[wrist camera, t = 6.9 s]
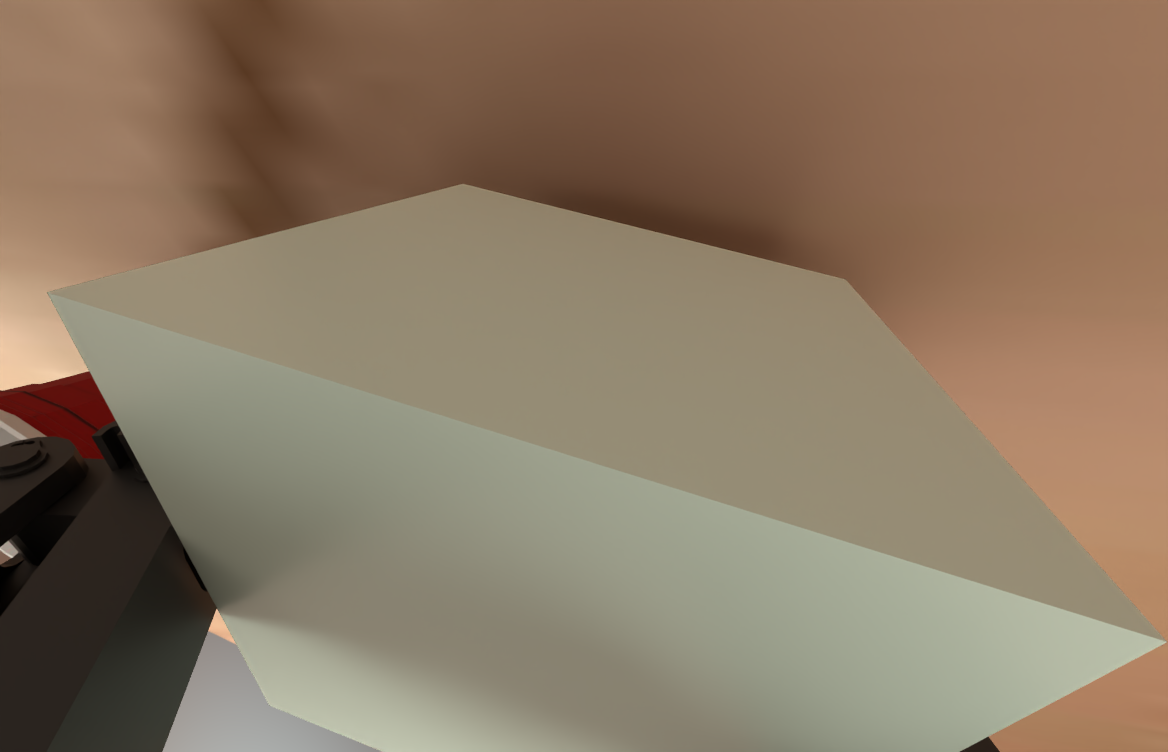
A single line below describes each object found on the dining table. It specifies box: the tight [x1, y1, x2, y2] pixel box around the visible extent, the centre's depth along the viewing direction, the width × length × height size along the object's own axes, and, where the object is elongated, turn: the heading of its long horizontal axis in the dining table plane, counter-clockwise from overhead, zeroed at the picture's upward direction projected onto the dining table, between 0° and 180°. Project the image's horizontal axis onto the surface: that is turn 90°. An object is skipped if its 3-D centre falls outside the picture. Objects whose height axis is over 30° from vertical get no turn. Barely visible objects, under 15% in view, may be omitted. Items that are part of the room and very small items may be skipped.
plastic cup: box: [0, 371, 116, 558], centre depth 22 cm, size 11×11×12 cm
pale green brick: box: [47, 184, 1167, 752], centre depth 10 cm, size 10×10×9 cm
